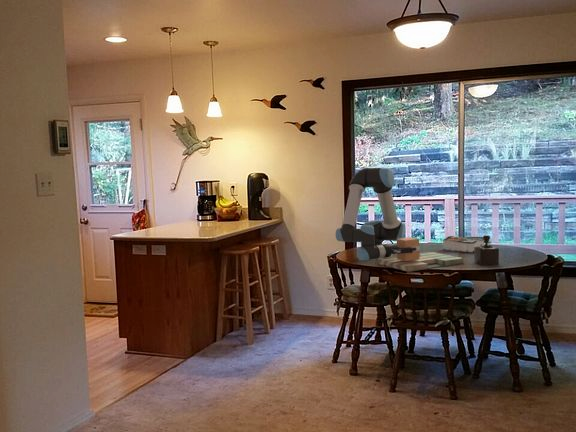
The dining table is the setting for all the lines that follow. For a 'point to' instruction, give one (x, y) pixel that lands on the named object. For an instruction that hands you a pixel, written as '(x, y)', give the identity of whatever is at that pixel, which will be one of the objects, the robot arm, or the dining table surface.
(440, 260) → the board
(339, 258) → the dining table surface
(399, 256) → the terracotta block
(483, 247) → the brown manual coffee grinder
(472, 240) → the food packaging
